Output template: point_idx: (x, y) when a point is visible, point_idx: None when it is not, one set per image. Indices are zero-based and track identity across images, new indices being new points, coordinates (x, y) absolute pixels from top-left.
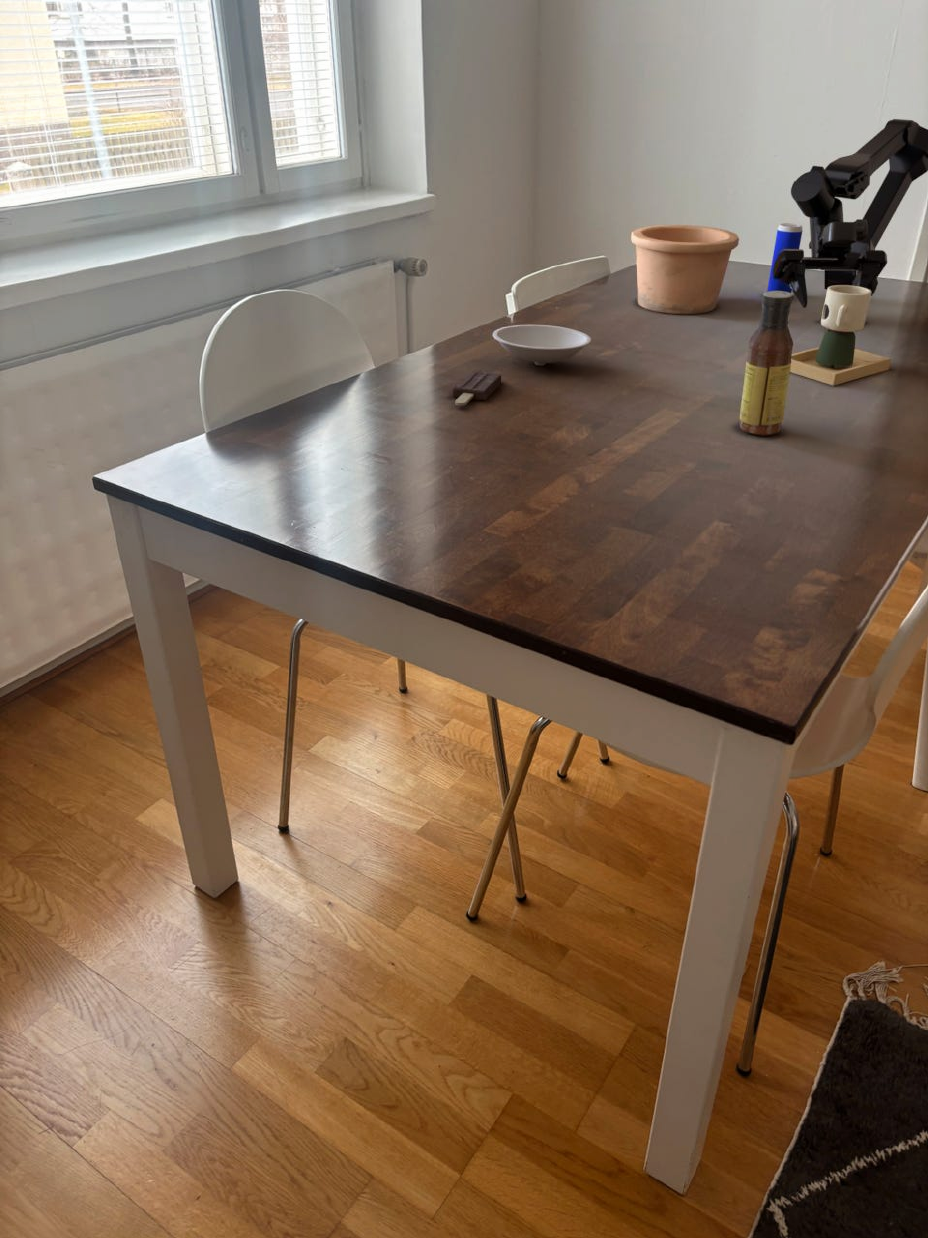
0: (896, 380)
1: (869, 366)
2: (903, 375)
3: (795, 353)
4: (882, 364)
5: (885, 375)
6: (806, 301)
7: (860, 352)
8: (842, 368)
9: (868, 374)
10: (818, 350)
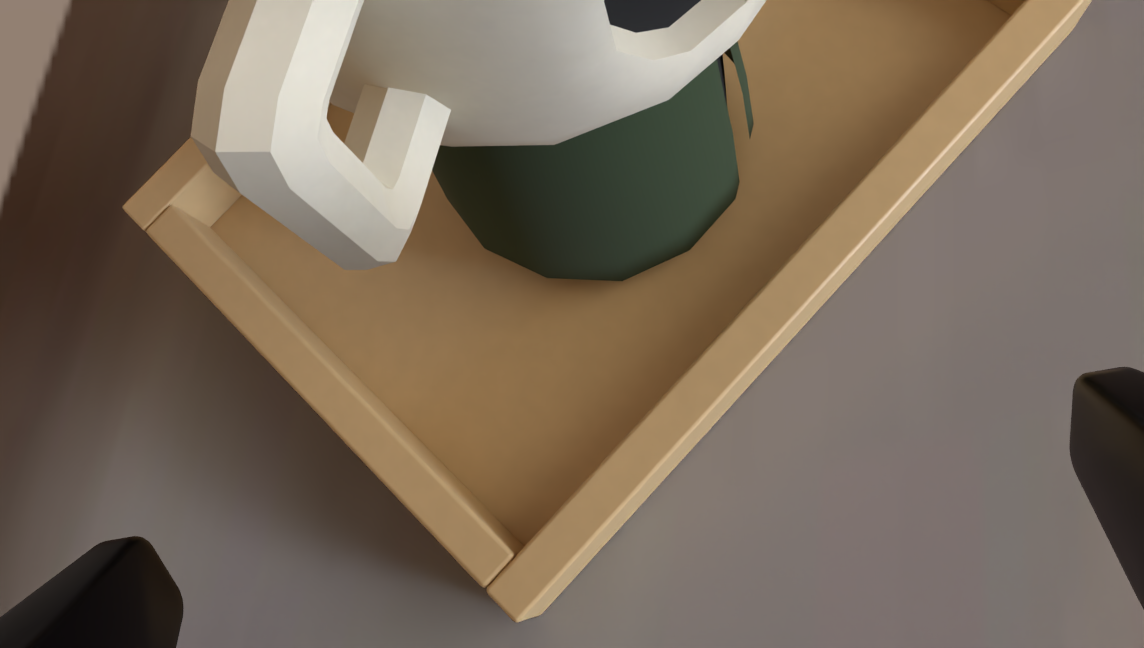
0: (194, 7)
1: None
2: (114, 130)
3: (958, 119)
4: None
5: None
6: (1132, 392)
7: (327, 361)
8: None
9: None
10: (746, 78)
